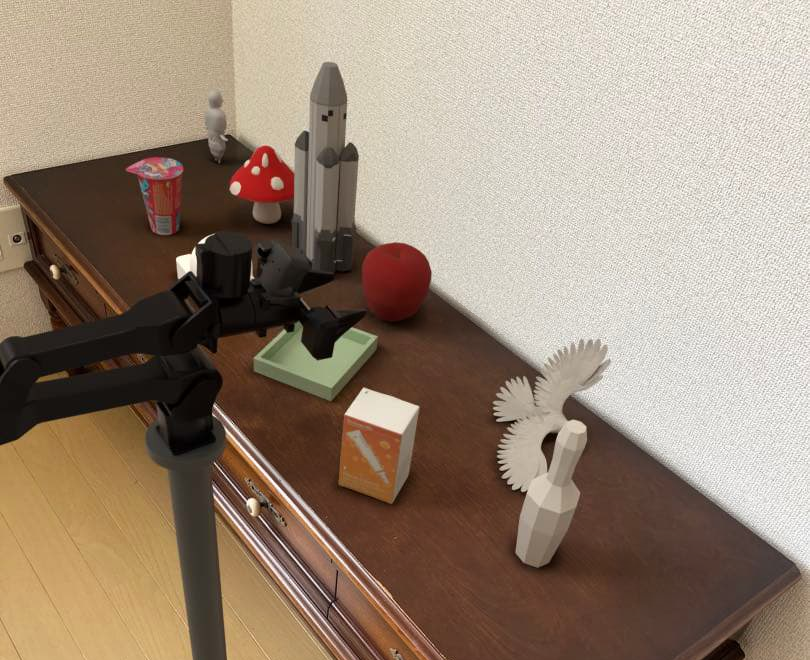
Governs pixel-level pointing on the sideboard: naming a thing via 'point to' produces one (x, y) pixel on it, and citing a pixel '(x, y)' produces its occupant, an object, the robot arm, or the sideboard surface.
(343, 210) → the toy rocket
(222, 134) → the figurine
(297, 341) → the tray
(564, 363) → the bird
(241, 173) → the decorative mushroom
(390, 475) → the small box
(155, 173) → the cup
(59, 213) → the sideboard surface
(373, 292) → the apple
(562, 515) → the low poly bottle
